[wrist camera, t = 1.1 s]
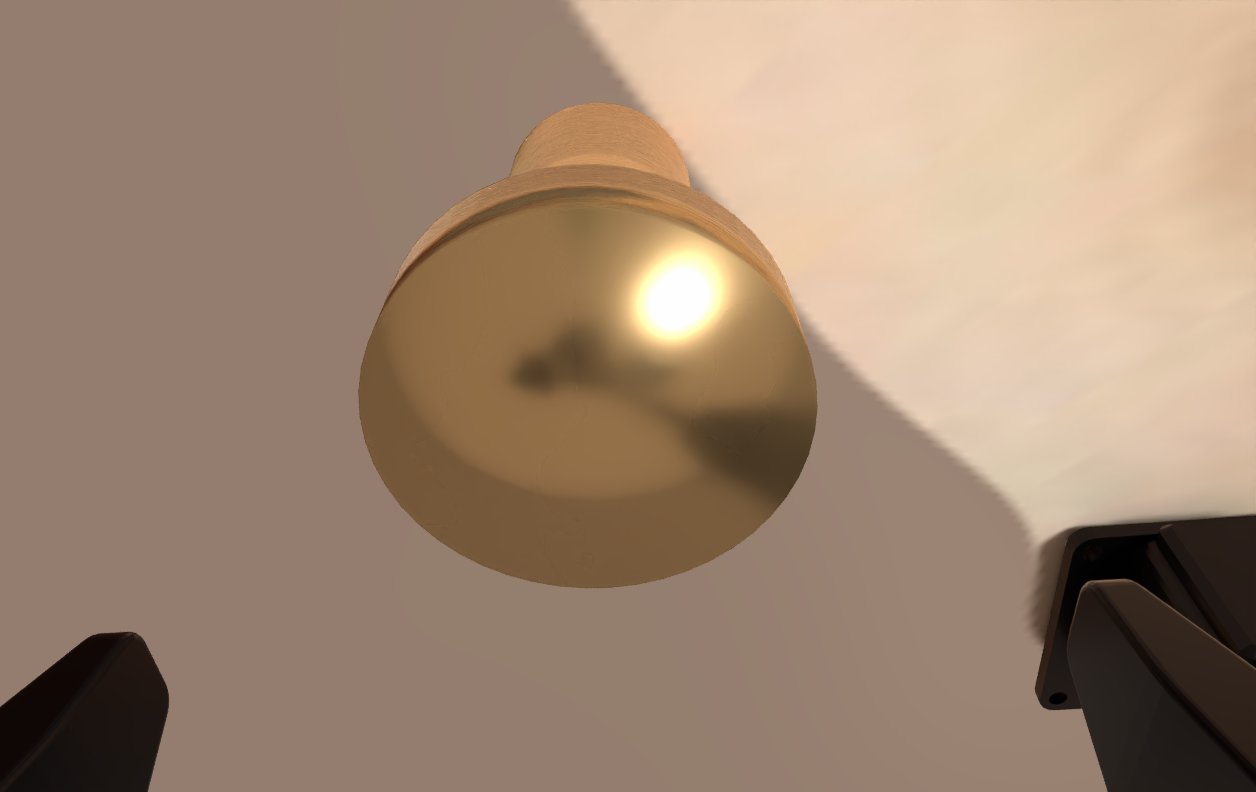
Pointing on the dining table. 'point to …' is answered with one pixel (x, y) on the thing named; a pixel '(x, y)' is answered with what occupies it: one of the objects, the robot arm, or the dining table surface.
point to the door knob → (589, 366)
